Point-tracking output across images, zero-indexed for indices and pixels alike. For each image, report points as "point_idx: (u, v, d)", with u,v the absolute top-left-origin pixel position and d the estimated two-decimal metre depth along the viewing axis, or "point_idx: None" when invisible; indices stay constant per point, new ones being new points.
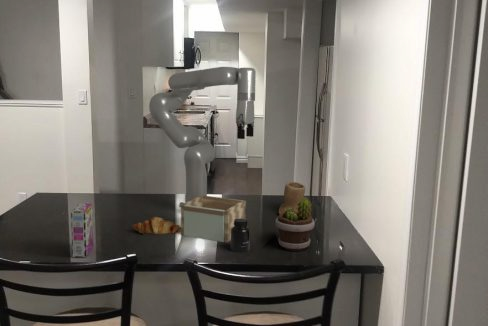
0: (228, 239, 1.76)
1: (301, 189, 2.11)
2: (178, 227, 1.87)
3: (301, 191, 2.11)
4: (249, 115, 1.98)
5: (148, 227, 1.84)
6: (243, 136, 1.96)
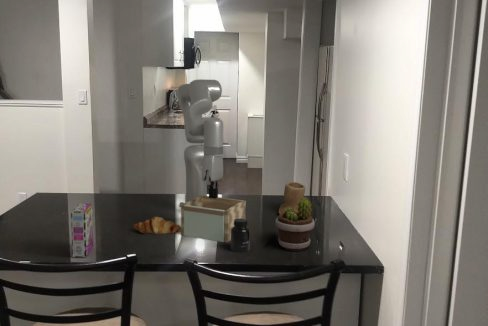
0: (228, 239, 1.76)
1: (301, 189, 2.11)
2: (178, 227, 1.87)
3: (301, 191, 2.11)
4: (216, 171, 1.79)
5: (148, 227, 1.85)
6: (215, 195, 1.82)
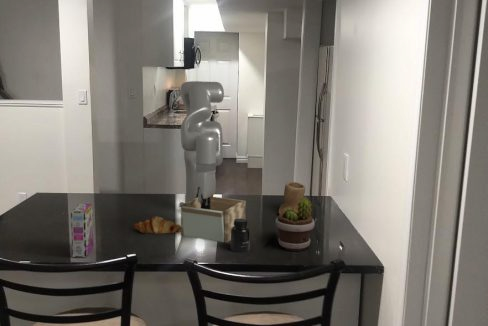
0: (228, 239, 1.76)
1: (301, 189, 2.11)
2: (178, 227, 1.87)
3: (301, 191, 2.11)
4: (209, 188, 1.75)
5: (148, 226, 1.85)
6: None
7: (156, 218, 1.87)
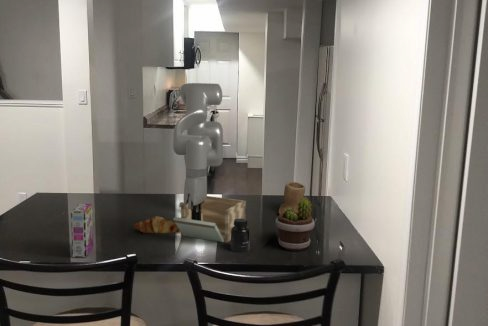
0: (228, 239, 1.76)
1: (301, 189, 2.11)
2: None
3: (301, 191, 2.11)
4: (199, 194, 1.68)
5: (148, 226, 1.85)
6: (198, 219, 1.72)
7: (156, 218, 1.87)
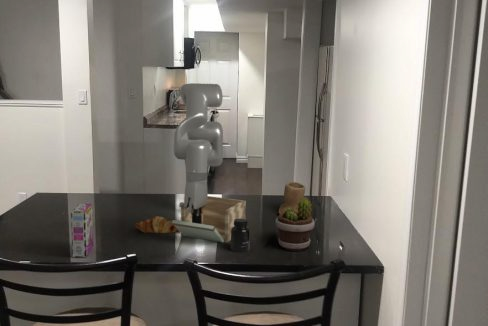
0: (228, 239, 1.76)
1: (301, 189, 2.11)
2: None
3: (301, 191, 2.11)
4: (200, 198, 1.69)
5: (149, 226, 1.86)
6: (198, 223, 1.72)
7: (156, 218, 1.88)
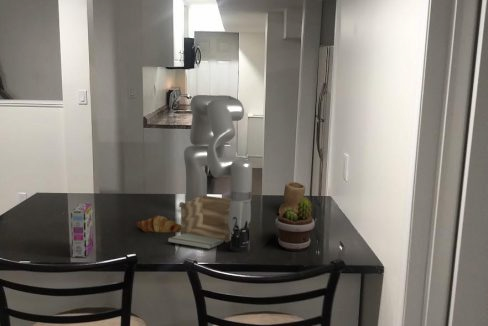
0: (228, 239, 1.76)
1: (301, 189, 2.11)
2: (179, 227, 1.87)
3: (301, 191, 2.11)
4: (244, 217, 1.64)
5: (150, 225, 1.87)
6: (238, 244, 1.64)
7: (158, 217, 1.88)
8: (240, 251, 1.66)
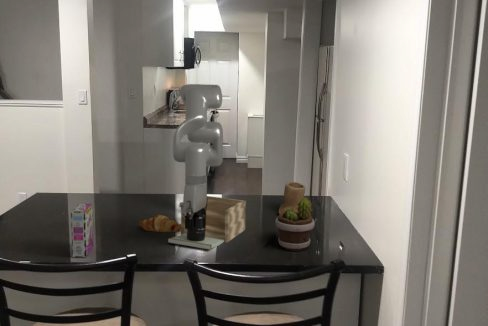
0: (228, 239, 1.76)
1: (301, 189, 2.11)
2: (180, 226, 1.87)
3: (301, 191, 2.11)
4: (199, 201, 1.68)
5: (151, 225, 1.88)
6: (191, 226, 1.67)
7: (159, 216, 1.89)
8: (195, 237, 1.70)
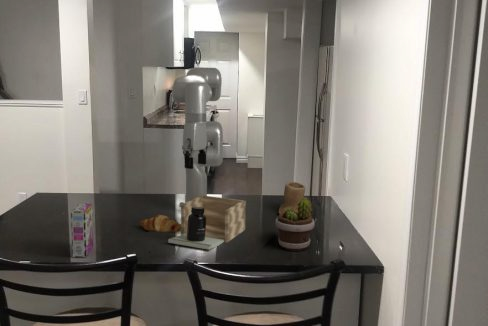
0: (228, 239, 1.76)
1: (301, 189, 2.11)
2: (180, 226, 1.88)
3: (301, 191, 2.11)
4: (199, 140, 1.64)
5: (151, 224, 1.88)
6: (191, 165, 1.63)
7: (159, 216, 1.90)
8: (195, 237, 1.70)
